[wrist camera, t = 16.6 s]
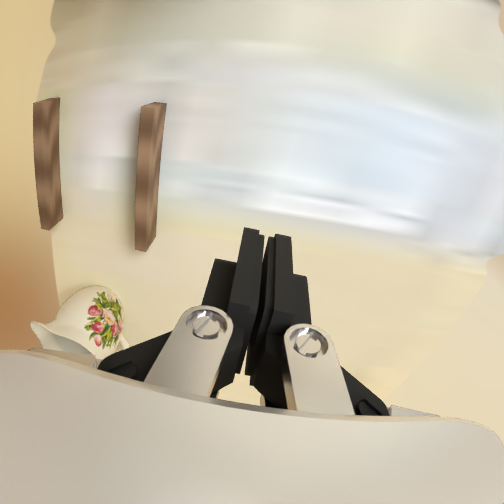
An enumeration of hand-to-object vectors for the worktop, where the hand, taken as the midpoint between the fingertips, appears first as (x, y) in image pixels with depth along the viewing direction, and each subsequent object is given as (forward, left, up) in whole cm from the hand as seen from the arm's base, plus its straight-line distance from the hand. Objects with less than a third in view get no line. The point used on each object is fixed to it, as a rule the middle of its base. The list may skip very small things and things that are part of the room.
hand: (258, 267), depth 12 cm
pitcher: (+33, -21, -27) cm, 48 cm away
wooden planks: (+8, -21, -27) cm, 35 cm away
